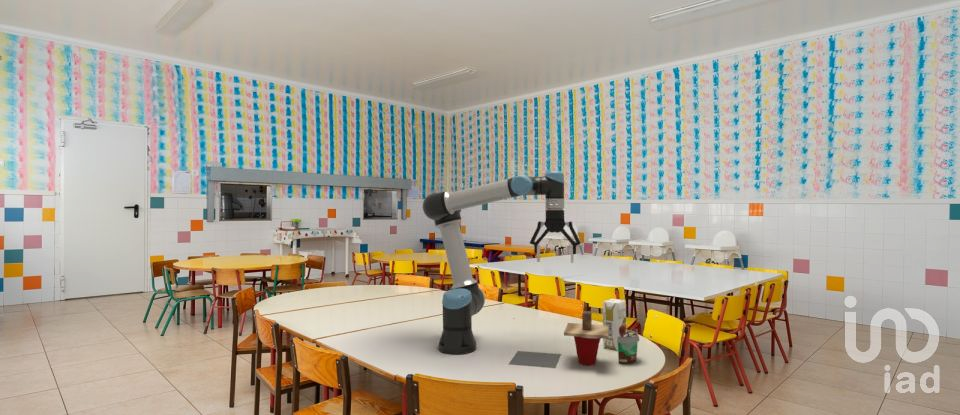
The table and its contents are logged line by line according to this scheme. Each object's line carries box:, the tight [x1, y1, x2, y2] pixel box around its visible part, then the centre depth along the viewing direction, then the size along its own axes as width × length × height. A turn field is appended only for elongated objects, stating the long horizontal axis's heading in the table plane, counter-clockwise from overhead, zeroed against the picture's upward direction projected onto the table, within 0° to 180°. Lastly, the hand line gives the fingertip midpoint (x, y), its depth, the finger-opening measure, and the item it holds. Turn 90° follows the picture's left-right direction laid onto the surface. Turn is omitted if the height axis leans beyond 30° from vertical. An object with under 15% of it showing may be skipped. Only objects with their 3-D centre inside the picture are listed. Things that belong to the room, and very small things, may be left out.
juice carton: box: [602, 298, 627, 351], centre depth 204 cm, size 8×9×19 cm
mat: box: [508, 350, 562, 369], centre depth 188 cm, size 17×17×1 cm
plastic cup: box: [573, 336, 602, 367], centre depth 183 cm, size 11×11×12 cm
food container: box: [617, 329, 640, 365], centre depth 186 cm, size 12×6×10 cm, turn 148°
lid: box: [563, 310, 609, 339], centre depth 182 cm, size 15×15×7 cm
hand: (555, 262), depth 204 cm, fingers open, 13 cm apart
